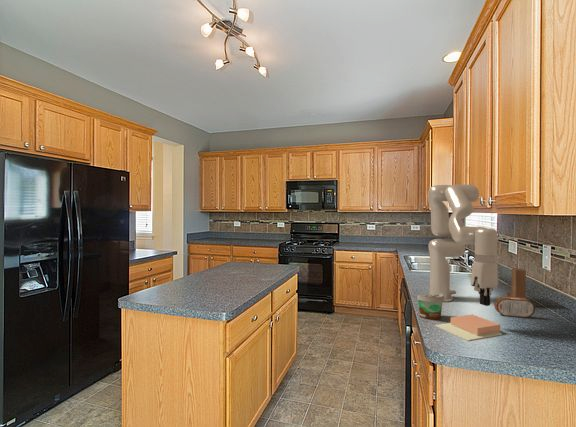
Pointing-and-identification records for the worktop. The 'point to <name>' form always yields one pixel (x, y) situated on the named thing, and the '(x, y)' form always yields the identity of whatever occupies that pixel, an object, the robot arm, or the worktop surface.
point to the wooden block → (518, 283)
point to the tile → (475, 324)
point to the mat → (464, 332)
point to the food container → (430, 306)
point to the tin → (514, 307)
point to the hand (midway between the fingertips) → (484, 304)
